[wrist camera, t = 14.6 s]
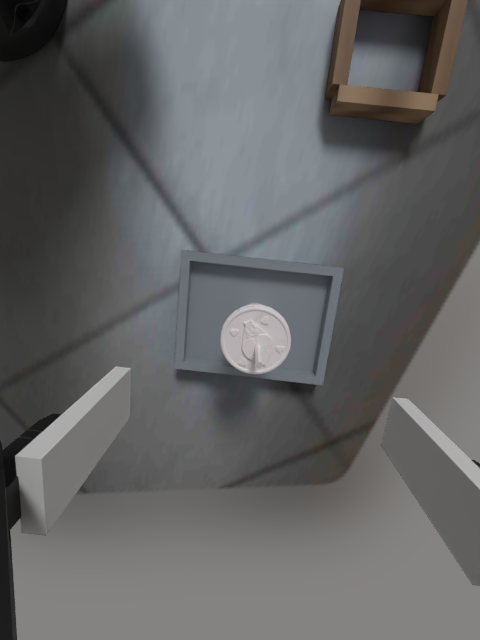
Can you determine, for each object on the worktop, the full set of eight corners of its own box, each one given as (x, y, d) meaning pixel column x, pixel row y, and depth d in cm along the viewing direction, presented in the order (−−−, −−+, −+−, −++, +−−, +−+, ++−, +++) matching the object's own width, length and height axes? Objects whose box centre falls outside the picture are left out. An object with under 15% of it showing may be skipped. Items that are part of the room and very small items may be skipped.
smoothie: (239, 350, 37) (232, 408, 23) (219, 303, 36) (200, 335, 22) (288, 332, 36) (311, 381, 23) (270, 283, 35) (282, 303, 21)
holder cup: (322, 114, 32) (329, 100, 29) (341, -11, 29) (351, -39, 27) (424, 124, 32) (442, 111, 29) (451, 0, 29) (474, -27, 26)
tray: (179, 361, 39) (174, 368, 36) (186, 250, 36) (181, 250, 33) (318, 377, 39) (322, 385, 36) (337, 267, 35) (344, 268, 33)
